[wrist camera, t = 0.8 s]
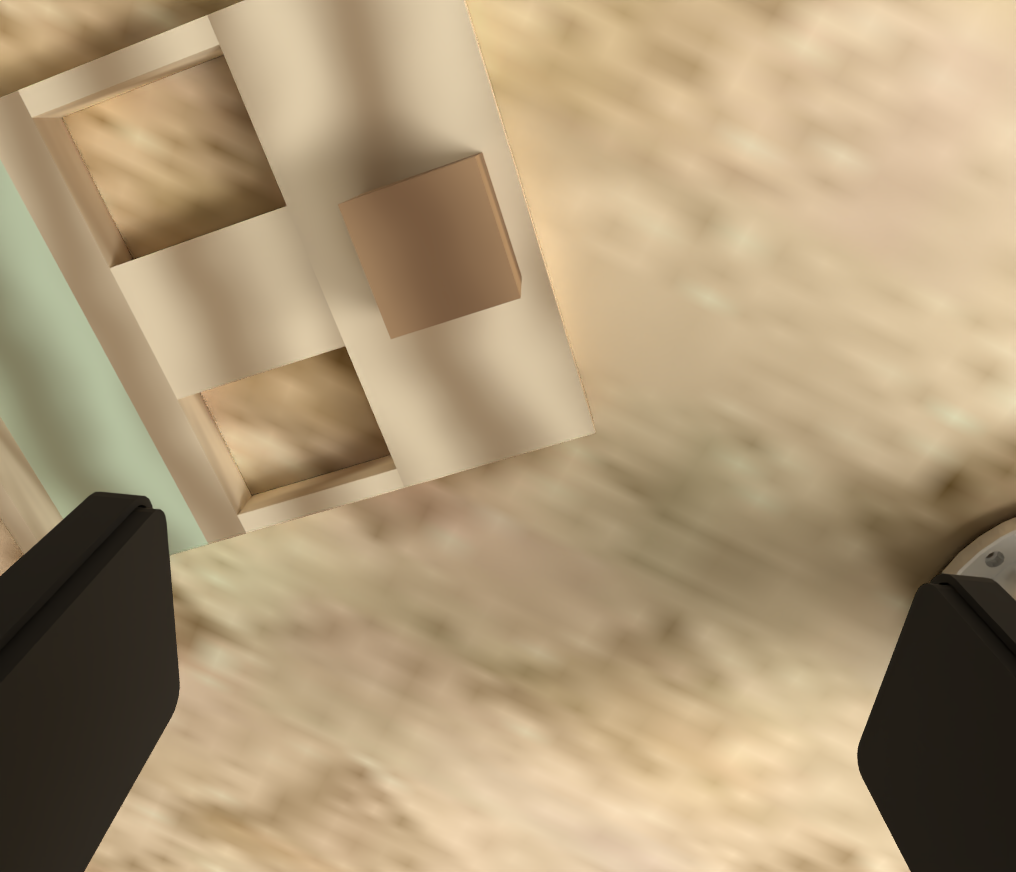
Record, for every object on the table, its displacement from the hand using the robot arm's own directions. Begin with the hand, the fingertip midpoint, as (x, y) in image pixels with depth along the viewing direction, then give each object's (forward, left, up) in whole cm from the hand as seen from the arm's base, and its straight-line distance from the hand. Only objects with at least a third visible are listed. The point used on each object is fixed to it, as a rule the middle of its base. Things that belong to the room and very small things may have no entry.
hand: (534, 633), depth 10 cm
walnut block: (+3, -3, -23) cm, 24 cm away
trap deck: (+12, -3, -25) cm, 28 cm away
